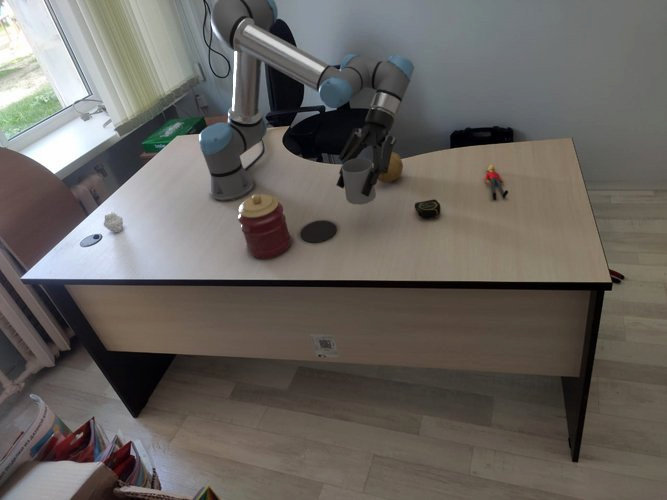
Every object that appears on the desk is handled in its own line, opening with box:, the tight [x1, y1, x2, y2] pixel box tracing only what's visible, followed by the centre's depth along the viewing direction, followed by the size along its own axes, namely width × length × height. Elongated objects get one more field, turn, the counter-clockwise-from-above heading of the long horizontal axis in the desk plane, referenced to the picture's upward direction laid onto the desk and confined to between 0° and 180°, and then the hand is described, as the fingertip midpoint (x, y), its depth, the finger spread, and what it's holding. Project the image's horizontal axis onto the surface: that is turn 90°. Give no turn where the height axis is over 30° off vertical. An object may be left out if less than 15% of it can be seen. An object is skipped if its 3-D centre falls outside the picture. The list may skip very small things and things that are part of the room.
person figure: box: [485, 164, 509, 201], centre depth 147 cm, size 5×4×18 cm
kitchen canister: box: [237, 193, 292, 260], centre depth 136 cm, size 13×13×18 cm
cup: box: [341, 157, 377, 206], centre depth 132 cm, size 8×8×10 cm
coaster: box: [300, 220, 338, 244], centre depth 143 cm, size 11×11×1 cm
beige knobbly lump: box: [103, 211, 124, 234], centre depth 160 cm, size 6×6×7 cm
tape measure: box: [414, 199, 441, 220], centre depth 140 cm, size 7×7×4 cm
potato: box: [373, 151, 404, 184], centre depth 159 cm, size 10×14×8 cm
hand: (352, 190), depth 132 cm, fingers closed on cup, 8 cm apart
